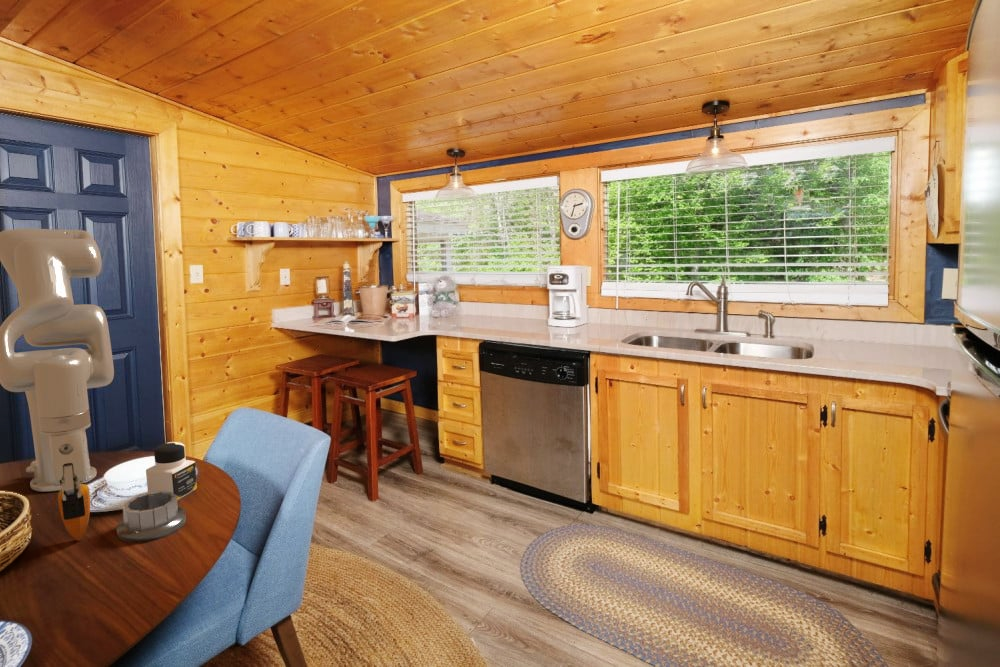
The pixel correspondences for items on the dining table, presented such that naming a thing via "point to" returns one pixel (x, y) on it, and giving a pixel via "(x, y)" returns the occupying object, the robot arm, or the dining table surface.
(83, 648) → the dining table surface
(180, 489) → the medicine bottle
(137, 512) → the duct collar
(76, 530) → the carrot
